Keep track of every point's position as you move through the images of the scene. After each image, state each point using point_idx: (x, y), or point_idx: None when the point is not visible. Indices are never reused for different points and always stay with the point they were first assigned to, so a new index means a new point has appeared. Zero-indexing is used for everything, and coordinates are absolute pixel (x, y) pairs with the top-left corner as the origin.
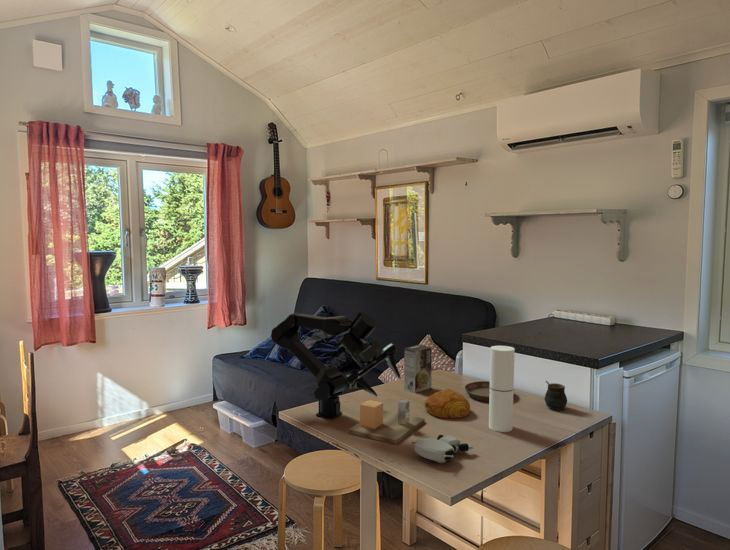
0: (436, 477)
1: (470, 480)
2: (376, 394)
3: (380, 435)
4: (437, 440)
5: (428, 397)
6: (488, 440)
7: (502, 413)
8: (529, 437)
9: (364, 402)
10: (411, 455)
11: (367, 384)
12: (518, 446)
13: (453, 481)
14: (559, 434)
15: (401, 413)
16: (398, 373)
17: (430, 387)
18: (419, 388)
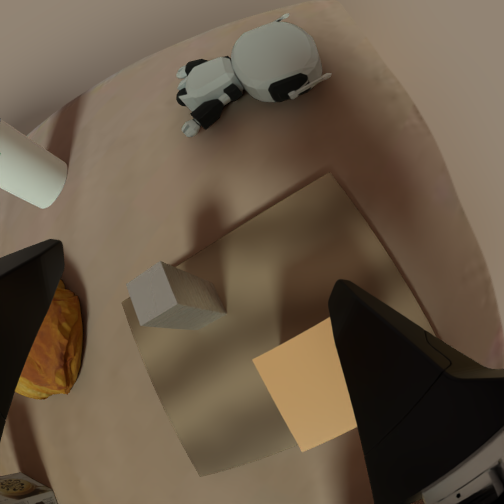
0: (326, 26)
1: (275, 13)
2: (345, 280)
3: (362, 236)
4: (244, 65)
5: (40, 382)
6: (111, 130)
7: (36, 143)
8: (63, 129)
9: (355, 424)
10: (325, 102)
11: (425, 350)
12: (102, 98)
13: (305, 14)
14: (37, 133)
15: (198, 293)
16: (29, 251)
17: (20, 473)
18: (37, 486)
